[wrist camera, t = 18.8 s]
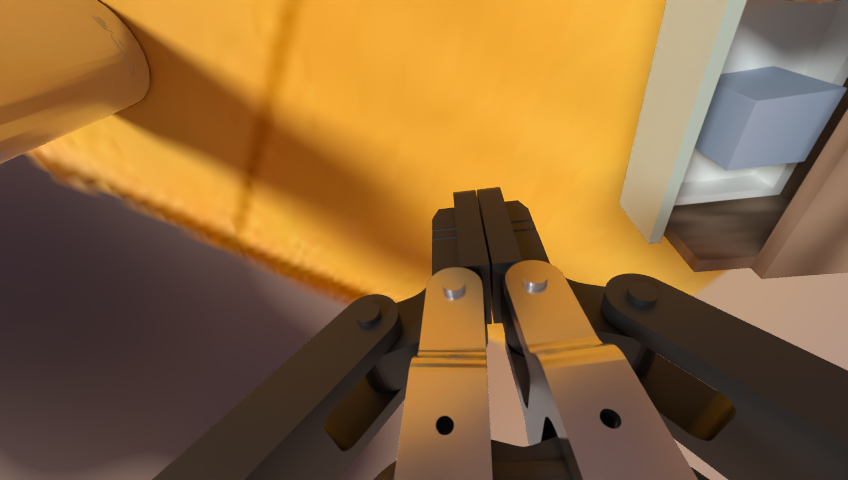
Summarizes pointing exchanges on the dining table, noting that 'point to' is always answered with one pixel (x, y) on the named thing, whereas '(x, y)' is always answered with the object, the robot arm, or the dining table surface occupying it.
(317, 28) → the dining table surface
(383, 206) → the dining table surface
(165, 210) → the dining table surface
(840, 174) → the open wooden box
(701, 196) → the tray
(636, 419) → the robot arm
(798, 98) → the slate block
